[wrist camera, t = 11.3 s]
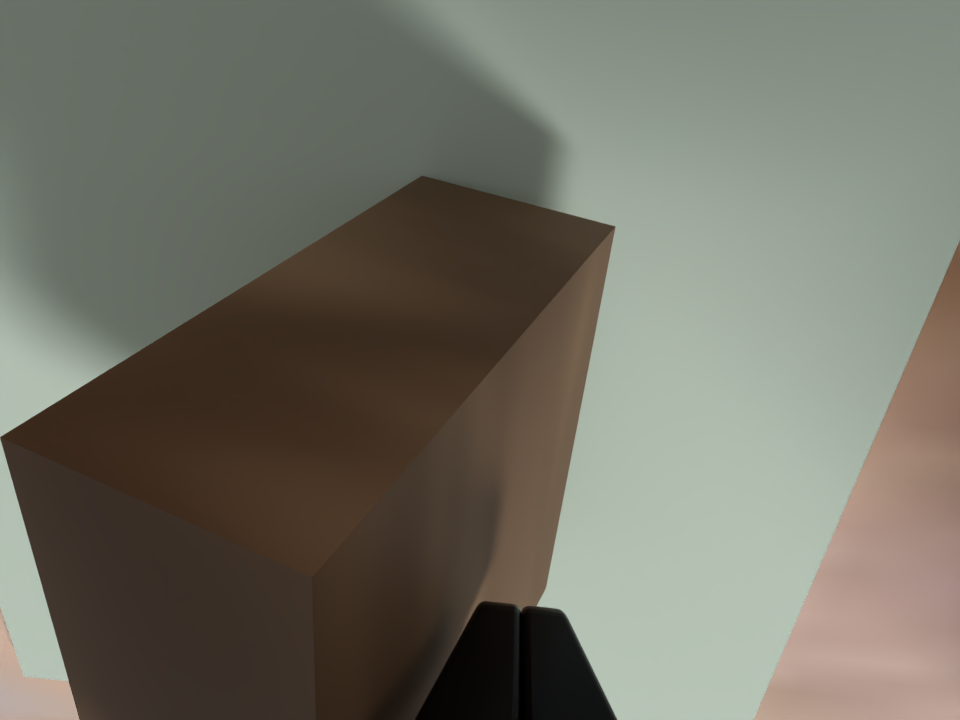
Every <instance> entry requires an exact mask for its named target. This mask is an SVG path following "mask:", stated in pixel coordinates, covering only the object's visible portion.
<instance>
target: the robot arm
mask: <svg viewBox="0 0 960 720" xmlns="http://www.w3.org/2000/svg"><path fill="white" fill-rule="evenodd" d="M415 720H617V718H616V716H615V714H614V711H613V709H612V707H611V705H610V703H609V701H608V699H607V697H606V695H605V693H604V691H603V689H602V687H601V685H600V683H599V681H598V679H597V677H596V675H595V672H594V670H593V668H592V666H591V664H590V662H589V660H588V658H587V656H586V654H585V652H584V650H583V648H582V646H581V644H580V642H579V640H578V638H577V636H576V633H575V631H574V629H573V627H572V625H571V623H570V621H569V619H568V617H567V616H566V614H565V613H564V612H563V611H562V610H560V609H557V608H548V607H538V606H526V607H524V608H523V609H522V610H520V608H519V607H518V606H517V605H515V604H511V603H501V602H492V601H483V602H480V603H479V604H478V605H477V607H476V608H475V610H474V612H473V614H472V616H471V617H470V619H469V621H468V623H467V625H466V627H465V628H464V630H463V632H462V634H461V636H460V638H459V639H458V641H457V643H456V645H455V647H454V649H453V650H452V652H451V654H450V656H449V658H448V659H447V661H446V663H445V665H444V667H443V669H442V670H441V672H440V674H439V676H438V678H437V680H436V681H435V683H434V685H433V687H432V689H431V691H430V692H429V694H428V696H427V698H426V700H425V702H424V703H423V705H422V707H421V709H420V711H419V713H418V714H417V716H416V718H415Z"/></svg>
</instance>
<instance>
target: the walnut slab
mask: <svg viewBox="0 0 960 720" xmlns="http://www.w3.org/2000/svg"><path fill="white" fill-rule="evenodd" d="M615 227H616V226H612V225H608V224H605V223H601V222H597V221H593V220H589V219H585V218H582V217H578V216H574V215H570V214H566V213H563V212H559V211H555V210H551V209H547V208H543V207H540V206H536V205H532V204H528V203H524V202H521V201H517V200H513V199H509V198H505V197H501V196H498V195H494V194H490V193H486V192H482V191H479V190H475V189H471V188H467V187H463V186H459V185H456V184H452V183H448V182H444V181H440V180H437V179H433V178H429V177H425V176H421V177H419V178H417V179H416V180H414V181H413V182H411V183H409V184H408V185H406V186H404V187H403V188H401V189H400V190H398V191H396V192H395V193H393V194H392V195H390V196H388V197H387V198H385V199H383V200H382V201H380V202H379V203H377V204H375V205H374V206H372V207H371V208H369V209H367V210H366V211H364V212H362V213H361V214H359V215H358V216H356V217H354V218H353V219H351V220H350V221H348V222H346V223H345V224H343V225H342V226H340V227H338V228H337V229H335V230H333V231H332V232H330V233H329V234H327V235H325V236H324V237H322V238H321V239H319V240H317V241H316V242H314V243H312V244H311V245H309V246H308V247H306V248H304V249H303V250H301V251H300V252H298V253H296V254H295V255H293V256H291V257H290V258H288V259H287V260H285V261H283V262H282V263H280V264H279V265H277V266H275V267H274V268H272V269H271V270H269V271H267V272H266V273H264V274H262V275H261V276H259V277H258V278H256V279H254V280H253V281H251V282H250V283H248V284H246V285H245V286H243V287H241V288H240V289H238V290H237V291H235V292H233V293H232V294H230V295H229V296H227V297H225V298H224V299H222V300H220V301H219V302H217V303H216V304H214V305H212V306H211V307H209V308H208V309H206V310H204V311H203V312H201V313H200V314H198V315H196V316H195V317H193V318H191V319H190V320H188V321H187V322H185V323H183V324H182V325H180V326H179V327H177V328H175V329H174V330H172V331H170V332H169V333H167V334H166V335H164V336H162V337H161V338H159V339H158V340H156V341H154V342H153V343H151V344H149V345H148V346H146V347H145V348H143V349H141V350H140V351H138V352H137V353H135V354H133V355H132V356H130V357H129V358H127V359H125V360H124V361H122V362H120V363H119V364H117V365H116V366H114V367H112V368H111V369H109V370H108V371H106V372H104V373H103V374H101V375H99V376H98V377H96V378H95V379H93V380H91V381H90V382H88V383H87V384H85V385H83V386H82V387H80V388H78V389H77V390H75V391H74V392H72V393H70V394H69V395H67V396H66V397H64V398H62V399H61V400H59V401H58V402H56V403H54V404H53V405H51V406H49V407H48V408H46V409H45V410H43V411H41V412H40V413H38V414H37V415H35V416H33V417H32V418H30V419H28V420H27V421H25V422H24V423H22V424H20V425H19V426H17V427H16V428H14V429H12V430H11V431H9V432H7V433H6V434H4V435H3V436H1V437H0V440H1V443H2V447H3V450H4V454H5V457H6V461H7V464H8V468H9V471H10V475H11V478H12V482H13V485H14V489H15V493H16V496H17V500H18V503H19V507H20V510H21V514H22V517H23V521H24V524H25V528H26V531H27V535H28V539H29V542H30V546H31V549H32V553H33V556H34V560H35V563H36V567H37V570H38V574H39V577H40V581H41V584H42V588H43V592H44V595H45V599H46V602H47V606H48V609H49V613H50V616H51V620H52V623H53V627H54V630H55V634H56V638H57V641H58V645H59V648H60V652H61V655H62V659H63V662H64V666H65V669H66V673H67V676H68V680H69V683H70V687H71V691H72V694H73V698H74V701H75V705H76V708H77V712H78V715H79V719H80V720H415V718H416V716H417V714H418V713H419V711H420V709H421V707H422V705H423V703H424V702H425V700H426V698H427V696H428V694H429V692H430V691H431V689H432V687H433V685H434V683H435V681H436V680H437V678H438V676H439V674H440V672H441V670H442V669H443V667H444V665H445V663H446V661H447V659H448V658H449V656H450V654H451V652H452V650H453V649H454V647H455V645H456V643H457V641H458V639H459V638H460V636H461V634H462V632H463V630H464V628H465V627H466V625H467V623H468V621H469V619H470V617H471V616H472V614H473V612H474V610H475V608H476V607H477V605H478V604H479V603H480V602H483V601H492V602H501V603H511V604H515V605H517V606H518V607H519V608H520V610H522V609H523V608H524V607H526V606H537V604H538V602H539V600H540V599H541V597H542V595H543V593H544V591H545V589H546V586H547V580H548V575H549V570H550V565H551V560H552V554H553V549H554V544H555V539H556V534H557V528H558V523H559V518H560V513H561V508H562V503H563V497H564V492H565V487H566V482H567V477H568V471H569V466H570V461H571V456H572V451H573V445H574V440H575V435H576V430H577V425H578V419H579V414H580V409H581V404H582V399H583V393H584V388H585V383H586V378H587V373H588V367H589V362H590V357H591V352H592V347H593V341H594V336H595V331H596V326H597V321H598V315H599V310H600V305H601V300H602V295H603V289H604V284H605V279H606V274H607V269H608V263H609V258H610V253H611V248H612V243H613V237H614V232H615Z"/></svg>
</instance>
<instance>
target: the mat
mask: <svg viewBox="0 0 960 720" xmlns="http://www.w3.org/2000/svg"><path fill="white" fill-rule="evenodd" d="M421 176H425V177H429V178H433V179H437V180H440V181H444V182H448V183H452V184H456V185H459V186H463V187H467V188H471V189H475V190H479V191H482V192H486V193H490V194H494V195H498V196H501V197H505V198H509V199H513V200H517V201H521V202H524V203H528V204H532V205H536V206H540V207H543V208H547V209H551V210H555V211H559V212H563V213H566V214H570V215H574V216H578V217H582V218H585V219H589V220H593V221H597V222H601V223H605V224H608V225H612V226H616V227H615V232H614V237H613V243H612V248H611V253H610V258H609V263H608V269H607V274H606V279H605V284H604V289H603V295H602V300H601V305H600V310H599V315H598V321H597V326H596V331H595V336H594V341H593V347H592V352H591V357H590V362H589V367H588V373H587V378H586V383H585V388H584V393H583V399H582V404H581V409H580V414H579V419H578V425H577V430H576V435H575V440H574V445H573V451H572V456H571V461H570V466H569V471H568V477H567V482H566V487H565V492H564V497H563V503H562V508H561V513H560V518H559V523H558V528H557V534H556V539H555V544H554V549H553V554H552V560H551V565H550V570H549V575H548V580H547V586H546V589H545V591H544V593H543V595H542V597H541V599H540V600H539V602H538V604H537V606H538V607H548V608H557V609H560V610H562V611H563V612H564V613H565V614H566V616H567V617H568V619H569V621H570V623H571V625H572V627H573V629H574V631H575V633H576V636H577V638H578V640H579V642H580V644H581V646H582V648H583V650H584V652H585V654H586V656H587V658H588V660H589V662H590V664H591V666H592V668H593V670H594V672H595V675H596V677H597V679H598V681H599V683H600V685H601V687H602V689H603V691H604V693H605V695H606V697H607V699H608V701H609V703H610V705H611V707H612V709H613V711H614V714H615V716H616V718H617V720H753V719H754V717H755V715H756V712H757V710H758V708H759V706H760V703H761V701H762V699H763V696H764V694H765V692H766V689H767V687H768V685H769V682H770V680H771V678H772V675H773V673H774V671H775V668H776V666H777V664H778V661H779V659H780V657H781V654H782V652H783V650H784V647H785V645H786V643H787V640H788V638H789V636H790V634H791V631H792V629H793V627H794V624H795V622H796V620H797V617H798V615H799V613H800V610H801V608H802V606H803V603H804V601H805V599H806V596H807V594H808V592H809V589H810V587H811V585H812V582H813V580H814V578H815V575H816V573H817V571H818V569H819V566H820V564H821V562H822V559H823V557H824V555H825V552H826V550H827V548H828V545H829V543H830V541H831V538H832V536H833V534H834V531H835V529H836V527H837V524H838V522H839V520H840V517H841V515H842V513H843V510H844V508H845V506H846V504H847V501H848V499H849V497H850V494H851V492H852V490H853V487H854V485H855V483H856V480H857V478H858V476H859V473H860V471H861V469H862V466H863V464H864V462H865V459H866V457H867V455H868V452H869V450H870V448H871V445H872V443H873V441H874V439H875V436H876V434H877V432H878V429H879V427H880V425H881V422H882V420H883V418H884V415H885V413H886V411H887V408H888V406H889V404H890V401H891V399H892V397H893V394H894V392H895V390H896V387H897V385H898V383H899V380H900V378H901V376H902V373H903V371H904V369H905V367H906V364H907V362H908V360H909V357H910V355H911V353H912V350H913V348H914V346H915V343H916V341H917V339H918V336H919V334H920V332H921V329H922V327H923V325H924V322H925V320H926V318H927V315H928V313H929V311H930V308H931V306H932V304H933V302H934V299H935V297H936V295H937V292H938V290H939V288H940V285H941V283H942V281H943V278H944V276H945V274H946V271H947V269H948V267H949V264H950V262H951V260H952V257H953V255H954V253H955V250H956V248H957V246H958V243H959V241H960V0H0V437H1V436H3V435H4V434H6V433H7V432H9V431H11V430H12V429H14V428H16V427H17V426H19V425H20V424H22V423H24V422H25V421H27V420H28V419H30V418H32V417H33V416H35V415H37V414H38V413H40V412H41V411H43V410H45V409H46V408H48V407H49V406H51V405H53V404H54V403H56V402H58V401H59V400H61V399H62V398H64V397H66V396H67V395H69V394H70V393H72V392H74V391H75V390H77V389H78V388H80V387H82V386H83V385H85V384H87V383H88V382H90V381H91V380H93V379H95V378H96V377H98V376H99V375H101V374H103V373H104V372H106V371H108V370H109V369H111V368H112V367H114V366H116V365H117V364H119V363H120V362H122V361H124V360H125V359H127V358H129V357H130V356H132V355H133V354H135V353H137V352H138V351H140V350H141V349H143V348H145V347H146V346H148V345H149V344H151V343H153V342H154V341H156V340H158V339H159V338H161V337H162V336H164V335H166V334H167V333H169V332H170V331H172V330H174V329H175V328H177V327H179V326H180V325H182V324H183V323H185V322H187V321H188V320H190V319H191V318H193V317H195V316H196V315H198V314H200V313H201V312H203V311H204V310H206V309H208V308H209V307H211V306H212V305H214V304H216V303H217V302H219V301H220V300H222V299H224V298H225V297H227V296H229V295H230V294H232V293H233V292H235V291H237V290H238V289H240V288H241V287H243V286H245V285H246V284H248V283H250V282H251V281H253V280H254V279H256V278H258V277H259V276H261V275H262V274H264V273H266V272H267V271H269V270H271V269H272V268H274V267H275V266H277V265H279V264H280V263H282V262H283V261H285V260H287V259H288V258H290V257H291V256H293V255H295V254H296V253H298V252H300V251H301V250H303V249H304V248H306V247H308V246H309V245H311V244H312V243H314V242H316V241H317V240H319V239H321V238H322V237H324V236H325V235H327V234H329V233H330V232H332V231H333V230H335V229H337V228H338V227H340V226H342V225H343V224H345V223H346V222H348V221H350V220H351V219H353V218H354V217H356V216H358V215H359V214H361V213H362V212H364V211H366V210H367V209H369V208H371V207H372V206H374V205H375V204H377V203H379V202H380V201H382V200H383V199H385V198H387V197H388V196H390V195H392V194H393V193H395V192H396V191H398V190H400V189H401V188H403V187H404V186H406V185H408V184H409V183H411V182H413V181H414V180H416V179H417V178H419V177H421ZM0 608H1V611H2V614H3V617H4V620H5V623H6V626H7V629H8V632H9V635H10V638H11V641H12V643H13V646H14V649H15V652H16V655H17V658H18V661H19V664H20V667H21V670H22V673H23V676H25V677H34V678H43V679H52V680H61V681H69V680H68V676H67V673H66V669H65V666H64V662H63V659H62V655H61V652H60V648H59V645H58V641H57V638H56V634H55V630H54V627H53V623H52V620H51V616H50V613H49V609H48V606H47V602H46V599H45V595H44V592H43V588H42V584H41V581H40V577H39V574H38V570H37V567H36V563H35V560H34V556H33V553H32V549H31V546H30V542H29V539H28V535H27V531H26V528H25V524H24V521H23V517H22V514H21V510H20V507H19V503H18V500H17V496H16V493H15V489H14V485H13V482H12V478H11V475H10V471H9V468H8V464H7V461H6V457H5V454H4V450H3V447H2V443H1V440H0Z"/></svg>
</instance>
